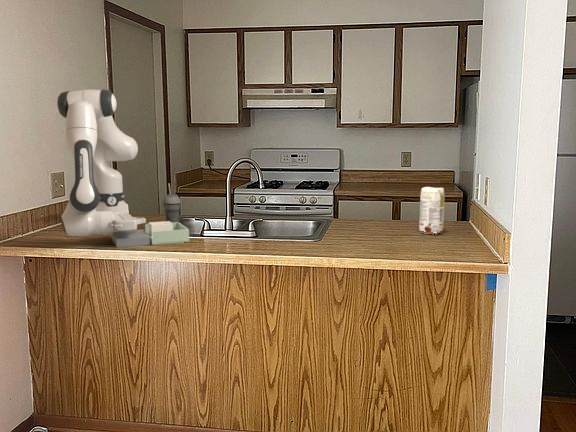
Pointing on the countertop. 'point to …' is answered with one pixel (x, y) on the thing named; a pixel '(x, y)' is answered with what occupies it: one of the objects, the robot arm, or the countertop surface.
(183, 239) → the box
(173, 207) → the beverage cup
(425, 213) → the juice carton
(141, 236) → the board
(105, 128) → the robot arm
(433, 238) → the countertop surface
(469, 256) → the countertop surface
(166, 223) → the off-white upright block
